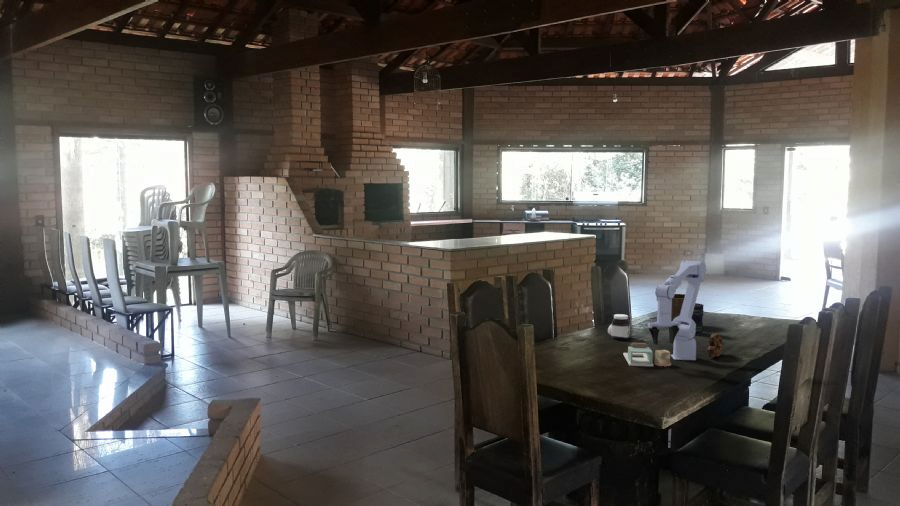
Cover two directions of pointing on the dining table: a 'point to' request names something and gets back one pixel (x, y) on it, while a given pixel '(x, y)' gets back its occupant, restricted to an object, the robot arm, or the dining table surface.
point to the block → (662, 356)
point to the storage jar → (698, 318)
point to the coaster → (662, 364)
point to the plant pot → (677, 305)
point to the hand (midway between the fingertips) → (663, 343)
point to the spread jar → (620, 327)
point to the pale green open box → (640, 351)
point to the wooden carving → (715, 345)
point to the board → (638, 360)
